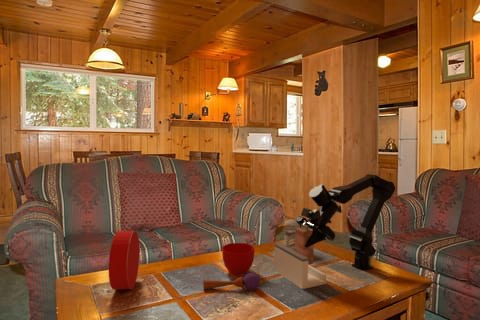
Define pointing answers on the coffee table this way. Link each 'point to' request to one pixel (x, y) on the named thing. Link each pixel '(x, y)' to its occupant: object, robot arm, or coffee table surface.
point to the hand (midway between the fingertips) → (301, 244)
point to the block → (304, 242)
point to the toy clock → (124, 260)
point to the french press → (290, 232)
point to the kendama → (235, 282)
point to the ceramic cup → (238, 257)
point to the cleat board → (296, 268)
